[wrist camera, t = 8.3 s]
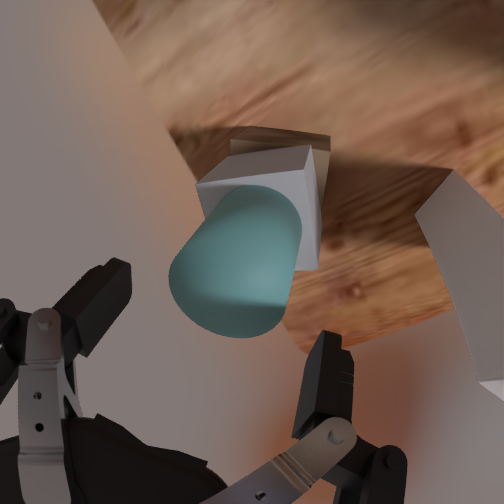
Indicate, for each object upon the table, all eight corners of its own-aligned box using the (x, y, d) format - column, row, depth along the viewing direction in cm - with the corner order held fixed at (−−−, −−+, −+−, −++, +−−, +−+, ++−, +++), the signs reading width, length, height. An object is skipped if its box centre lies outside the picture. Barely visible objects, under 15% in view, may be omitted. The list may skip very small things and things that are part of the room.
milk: (450, 248, 27) (521, 454, 9) (412, 213, 27) (484, 439, 9) (489, 207, 24) (605, 393, 6) (453, 166, 23) (598, 358, 5)
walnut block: (330, 135, 25) (330, 151, 20) (319, 209, 29) (316, 240, 24) (250, 125, 26) (230, 139, 21) (246, 197, 30) (227, 226, 25)
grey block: (310, 144, 20) (303, 169, 15) (322, 223, 23) (317, 269, 18) (227, 156, 22) (195, 184, 17) (245, 229, 25) (221, 273, 20)
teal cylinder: (313, 201, 16) (302, 265, 11) (287, 275, 19) (268, 351, 14) (222, 173, 17) (172, 224, 12) (209, 249, 19) (166, 315, 14)
